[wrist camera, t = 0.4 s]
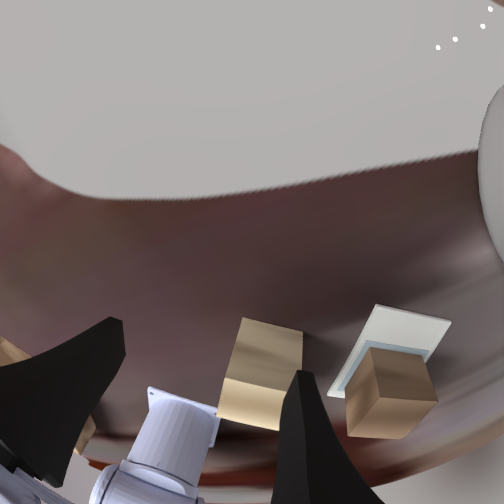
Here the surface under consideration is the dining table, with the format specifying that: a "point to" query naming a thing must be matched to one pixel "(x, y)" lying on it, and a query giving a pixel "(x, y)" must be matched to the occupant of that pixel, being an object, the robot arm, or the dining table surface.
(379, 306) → the white flat plate
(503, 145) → the jar
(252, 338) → the maple block
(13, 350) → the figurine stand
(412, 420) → the walnut block
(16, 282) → the dining table surface
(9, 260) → the dining table surface
